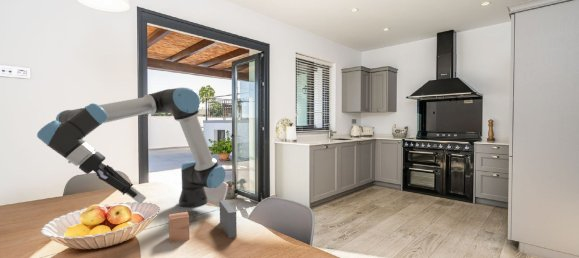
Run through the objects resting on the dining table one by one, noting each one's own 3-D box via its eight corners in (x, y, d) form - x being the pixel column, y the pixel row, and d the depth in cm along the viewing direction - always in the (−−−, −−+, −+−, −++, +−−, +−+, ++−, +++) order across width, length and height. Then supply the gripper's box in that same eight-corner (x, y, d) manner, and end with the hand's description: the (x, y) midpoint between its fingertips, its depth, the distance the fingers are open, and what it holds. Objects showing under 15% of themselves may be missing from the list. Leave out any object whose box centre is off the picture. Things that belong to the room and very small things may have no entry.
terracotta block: (169, 236, 108) (168, 214, 108) (188, 233, 111) (187, 211, 111) (169, 243, 102) (169, 219, 102) (189, 239, 106) (189, 216, 105)
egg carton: (181, 226, 119) (181, 217, 119) (171, 223, 123) (170, 214, 123) (201, 218, 128) (201, 210, 128) (190, 215, 132) (190, 207, 132)
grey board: (219, 222, 122) (219, 200, 122) (226, 221, 124) (226, 199, 123) (229, 238, 106) (228, 212, 106) (236, 236, 107) (236, 211, 107)
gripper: (82, 164, 98) (136, 203, 106) (72, 170, 86) (133, 214, 94) (100, 148, 100) (151, 188, 108) (92, 152, 88) (150, 197, 96)
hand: (143, 200), depth 101 cm, fingers closed
